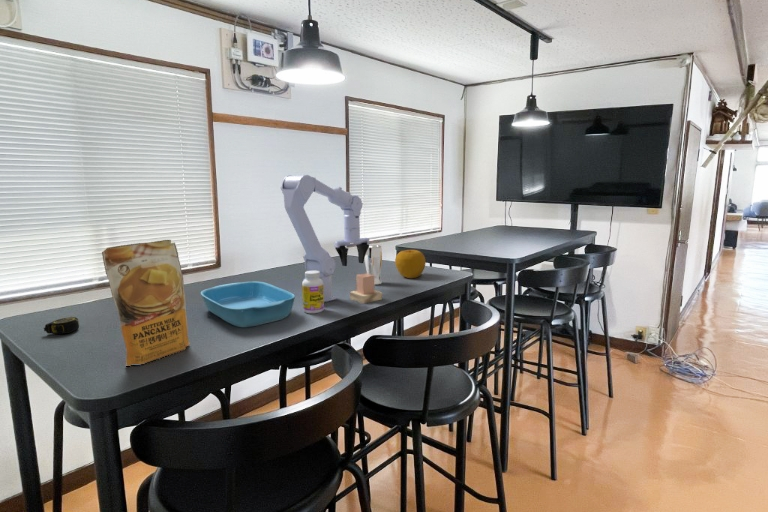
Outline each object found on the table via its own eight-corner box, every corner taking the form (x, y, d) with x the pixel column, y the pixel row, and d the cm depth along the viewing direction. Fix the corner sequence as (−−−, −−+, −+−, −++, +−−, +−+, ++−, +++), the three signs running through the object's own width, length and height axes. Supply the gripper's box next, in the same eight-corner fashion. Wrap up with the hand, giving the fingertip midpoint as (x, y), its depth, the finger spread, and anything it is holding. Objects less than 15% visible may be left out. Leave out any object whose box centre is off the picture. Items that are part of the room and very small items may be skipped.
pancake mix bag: (109, 366, 106) (93, 247, 101) (184, 340, 122) (173, 237, 117) (124, 372, 102) (109, 250, 97) (199, 345, 118) (189, 238, 113)
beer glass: (383, 281, 185) (382, 244, 182) (381, 285, 178) (380, 247, 175) (366, 281, 185) (365, 245, 183) (363, 285, 179) (362, 247, 176)
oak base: (363, 304, 154) (363, 296, 153) (350, 300, 160) (349, 291, 160) (382, 300, 159) (381, 292, 158) (368, 296, 165) (368, 287, 164)
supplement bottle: (308, 315, 142) (306, 275, 140) (300, 310, 147) (298, 271, 145) (327, 311, 145) (326, 272, 143) (318, 306, 151) (317, 268, 149)
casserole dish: (193, 308, 152) (191, 287, 151) (256, 296, 166) (255, 277, 165) (236, 337, 124) (234, 312, 123) (308, 320, 138) (307, 297, 137)
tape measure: (65, 327, 134) (63, 315, 134) (85, 328, 133) (83, 316, 132) (44, 336, 128) (42, 323, 127) (65, 337, 126) (63, 324, 126)
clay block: (363, 294, 156) (363, 277, 155) (356, 291, 159) (356, 274, 158) (374, 292, 158) (374, 275, 157) (367, 289, 162) (367, 273, 161)
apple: (390, 278, 189) (390, 251, 187) (401, 272, 201) (401, 246, 199) (420, 281, 184) (420, 253, 182) (429, 274, 196) (429, 248, 194)
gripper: (341, 230, 160) (342, 268, 162) (374, 227, 169) (374, 263, 172) (330, 229, 165) (332, 265, 168) (362, 225, 174) (363, 260, 177)
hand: (352, 264), depth 170 cm, fingers open, 7 cm apart
